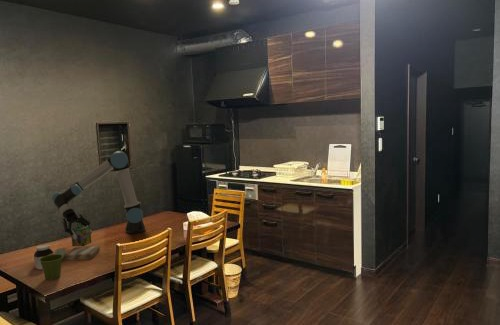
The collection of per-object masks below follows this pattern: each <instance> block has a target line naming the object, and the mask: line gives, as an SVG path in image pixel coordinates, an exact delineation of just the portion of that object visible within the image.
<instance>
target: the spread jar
mask: <svg viewBox="0 0 500 325" xmlns="http://www.w3.org/2000/svg"><path fill="white" fill-rule="evenodd" d="M52 254H54V251H53V250H52V249H51V248H50V244H43V245H42V244H41V245H38V246H36V251H35V252H34V255H33V261H34V267H35V268H36V269H37V270H43V268H42V265H41V262H40V261H39V259H40V258H42V257H44V256H47V255H52Z"/></svg>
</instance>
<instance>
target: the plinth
mask: <svg viewBox="0 0 500 325" xmlns="http://www.w3.org/2000/svg"><path fill="white" fill-rule="evenodd" d="M99 252H100V246H99V245H95V246H75V247H74V248H72V249H71V250H70V251H69V252H68V253H66V255H65V259H64V261H78V260H79V261H81V260H82V261H83V260H92V259H94V257H95V256H96V255H97V254H98V253H99Z"/></svg>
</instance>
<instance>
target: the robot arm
mask: <svg viewBox="0 0 500 325" xmlns="http://www.w3.org/2000/svg"><path fill="white" fill-rule="evenodd" d="M130 168H131V166H130V162H129V158H128V155H127V154H126V152H125V151H122V150H116V151H114V152H113V153H112V154H111V155H110V156H109V157H108V158H106V161H105V162H103V163H101V164H100V165H98V166H97V167H96V168H94V169H93V170H91V171H90V172H89V173H88V174H86V175H85V176H84V177H81V178H80V179H78V180H77V181H76V182H74V183H73V184H71V185H70V186H69V188H67V189H66V190H65V191H64V192H57V193H55V194H53V195H52V196H51V200H52V201H53V204H54V205H55V206H56V208H57V209H58V211H59V212H60V214H61V215H62V217H63V218H62V220H61V223H62V226H63V228H64V233H68V234H69V235H70V237H71V236H73V238H74V239H75V240H76V239H77V235H76V234H75V233H74V231H73V230H71V229H72V224H74V223H76V224H78V223H81V224H82V226H86V227H90V231H91V235H92V234H93V230H92V227H91V226H90V225H91V222H90V221H89V220H87V219H86V218H85V217H84V216H83V215H82V214H79V215H77V214H76V211H75V210H74V209H73V207H72V206H71V204H70V202H71V201H72V200H74V199H75V198H77V197H79V196H80V195H81V194H82V193H83V191H84V190H85V189H86V188H88V187H90V186H91V185H92V184H94V183H95V182H97V181H98V180H100V179H101V178H102V177H104V176H105V175H107V173H108V174H109V172H110V171H112V170H113V172H114V173H116V174H117V180H118V183H119V186H120V190H121V193H122V197H123V200H124V205H123V208H124V212H125V216H126V224H125V228H124V229H125V231H124V232H125V234H132V235H133V234H139V233H143V232H145V231H146V226H145V223H144V221H143V217H144V212H143V209H142V206H143V205H142V202H141V201H138V199H137V195H136V192H135V188H134V184H133V182H132V177H131V173H130ZM67 222H68V223H67Z"/></svg>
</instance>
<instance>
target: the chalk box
mask: <svg viewBox="0 0 500 325" xmlns="http://www.w3.org/2000/svg"><path fill="white" fill-rule="evenodd" d="M90 228H91V226H90V227H86V226H83V225H82V224H81V223H76V227H74V228H71V230H73V231H74V233H75V234H76V235H77V239H76V240H75V239H74V238H73V236H71V235H70V237H71V245H72V247H86V246H87V245H89V244H91V243H92V234H91V231H92V230H91V231H90Z"/></svg>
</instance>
